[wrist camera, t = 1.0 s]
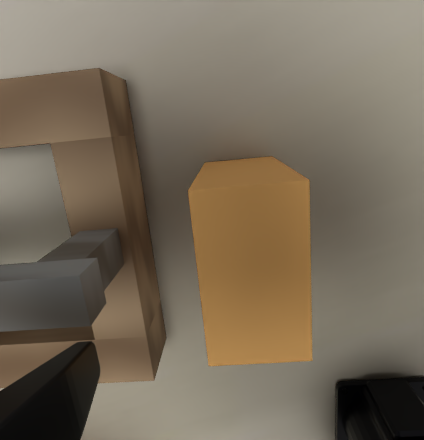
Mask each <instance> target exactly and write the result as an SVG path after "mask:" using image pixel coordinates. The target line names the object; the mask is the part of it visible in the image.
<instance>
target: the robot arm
mask: <svg viewBox="0 0 424 440" xmlns="http://www.w3.org/2000/svg"><path fill="white" fill-rule="evenodd" d="M99 377H100V363H99V359H98V355H97V350H96V346H95V344H94V342H92V341H82V342H77V343H75V344H73V345H72V346H70V347H69V348H67V349H65V350H64V351H62V352H61V353H59V354H58V355H56V356H54V357H53V358H51V359H50V360H48V361H47V362H45V363H43V364H42V365H40V366H39V367H37V368H36V369H34V370H32V371H31V372H29V373H28V374H26V375H25V376H23V377H22V378H20V379H18V380H17V381H15V382H14V383H12V384H11V385H9V386H7V387H6V388H4V389H3V390H1V391H0V440H80V439H81V436H82V434H83V430H84V427H85V424H86V421H87V418H88V414H89V411H90V408H91V404H92V401H93V397H94V394H95V391H96V387H97V384H98V381H99ZM344 388H346V389H344ZM342 389H344V390H342ZM335 440H424V377H421V378H400V379H379V380H357V381H341V382H339V383H338V384H337V385H336V428H335Z"/></svg>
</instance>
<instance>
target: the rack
mask: <svg viewBox="0 0 424 440" xmlns="http://www.w3.org/2000/svg"><path fill="white" fill-rule="evenodd" d="M40 144H51V148H52V153H53V157H54V162H55V166H56V170H57V175H58V179H59V184H60V188H61V192H62V197H63V201H64V206H65V210H66V214H67V219H68V223H69V228H70V232H71V236H72V237H71V238H70V239H68V240H67V241H65V242H64V243H63V244H61V245H60V246H58V247H57V248H56V249H54V250H53V251H51V252H50V253H48V254H47V255H46V256H44V257H43V258H41V259H40V260H39V261H37V262H34V263H21V264H8V265H0V388H6V387H7V386H9V385H11V384H12V383H14V382H15V381H17V380H18V379H20V378H22V377H23V376H25V375H26V374H28V373H29V372H31V371H32V370H34V369H36V368H37V367H39V366H40V365H42V364H43V363H45V362H47V361H48V360H50V359H51V358H53V357H54V356H56V355H58V354H59V353H61V352H62V351H64V350H65V349H67V348H69V347H70V346H72V345H73V344H75V343H77V342H82V341H92V342H94V344H95V346H96V350H97V355H98V359H99V363H100V377H99V381H98V383H113V382H134V381H154V380H155V376H156V373H157V369H158V366H159V362H160V358H161V355H162V351H163V348H164V344H165V341H166V333H165V327H164V320H163V314H162V308H161V301H160V295H159V288H158V282H157V276H156V269H155V263H154V257H153V250H152V244H151V238H150V231H149V225H148V219H147V212H146V206H145V200H144V193H143V187H142V181H141V174H140V168H139V162H138V155H137V149H136V142H135V136H134V130H133V123H132V117H131V111H130V104H129V98H128V92H127V85H126V80H124V79H122V78H119V77H117V76H115V75H113V74H111V73H109V72H107V71H104V70H102V69H100V68H95V69H86V70H78V71H69V72H61V73H52V74H44V75H35V76H26V77H18V78H9V79H1V80H0V149H1V148H10V147H20V146H30V145H40Z"/></svg>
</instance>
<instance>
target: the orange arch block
mask: <svg viewBox="0 0 424 440" xmlns="http://www.w3.org/2000/svg"><path fill="white" fill-rule="evenodd" d="M188 197H189V205H190V214H191V222H192V230H193V239H194V247H195V255H196V264H197V272H198V281H199V289H200V297H201V306H202V314H203V322H204V331H205V339H206V348H207V356H208V364H209V366H222V365H242V364H261V363H280V362H300V361H312V308H311V244H310V180H309V179H307V178H306V177H304V176H302V175H301V174H299V173H298V172H296V171H295V170H293V169H291V168H290V167H288V166H287V165H285V164H283V163H282V162H280V161H279V160H277V159H276V158H274V157H272V156H269V157H258V158H247V159H237V160H226V161H216V162H205V163H204V165H203V166H202V168H201V170H200V171H199V173H198V175H197V176H196V178H195V180H194V181H193V183H192V185H191V186H190V188H189V190H188Z"/></svg>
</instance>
